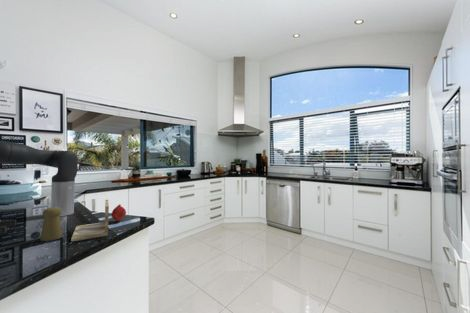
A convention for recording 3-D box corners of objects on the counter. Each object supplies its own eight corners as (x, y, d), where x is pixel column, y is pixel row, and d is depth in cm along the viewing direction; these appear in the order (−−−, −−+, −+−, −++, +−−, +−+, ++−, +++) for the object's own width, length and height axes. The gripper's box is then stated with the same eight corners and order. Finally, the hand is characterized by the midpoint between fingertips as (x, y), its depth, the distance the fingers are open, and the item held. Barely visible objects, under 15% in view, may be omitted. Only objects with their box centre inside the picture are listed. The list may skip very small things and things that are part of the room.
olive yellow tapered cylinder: (49, 241, 71) (49, 210, 71) (35, 240, 72) (36, 209, 72) (66, 235, 77) (67, 206, 77) (53, 234, 78) (54, 205, 78)
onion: (110, 224, 91) (110, 206, 91) (112, 220, 96) (112, 203, 96) (125, 222, 93) (125, 205, 93) (126, 219, 98) (126, 202, 99)
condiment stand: (76, 228, 84) (77, 202, 85) (107, 224, 90) (108, 199, 91) (71, 241, 71) (72, 210, 71) (107, 235, 77) (108, 206, 77)
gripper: (-86, 229, 54) (2, 220, 63) (-52, 216, 66) (19, 210, 75) (-88, 257, 54) (1, 244, 63) (-53, 239, 66) (18, 230, 75)
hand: (11, 226), depth 69 cm, fingers open, 8 cm apart
